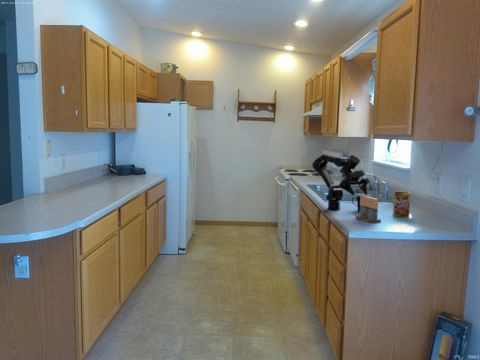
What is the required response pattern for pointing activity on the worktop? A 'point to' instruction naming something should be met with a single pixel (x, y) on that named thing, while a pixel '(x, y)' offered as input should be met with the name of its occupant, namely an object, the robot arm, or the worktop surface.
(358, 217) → the ticket stand
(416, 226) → the worktop surface
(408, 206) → the candy box
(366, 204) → the tan wooden block
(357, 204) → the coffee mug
